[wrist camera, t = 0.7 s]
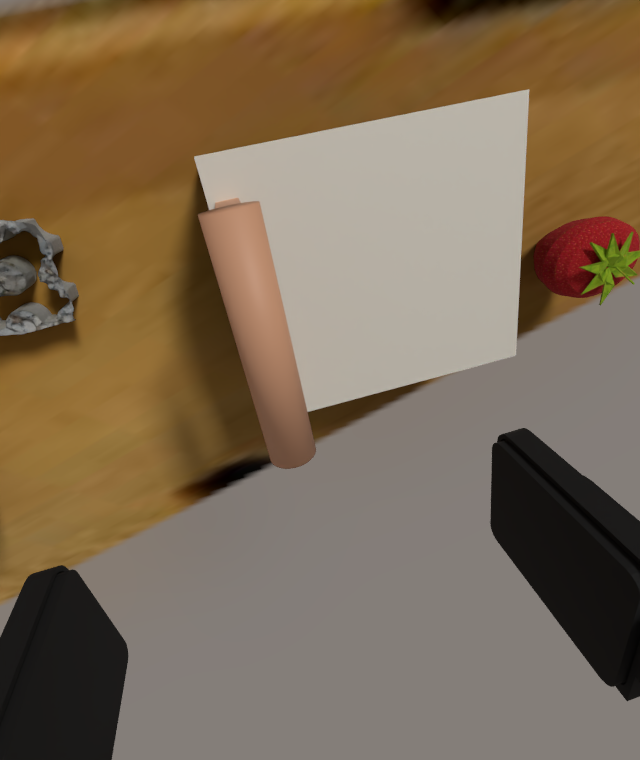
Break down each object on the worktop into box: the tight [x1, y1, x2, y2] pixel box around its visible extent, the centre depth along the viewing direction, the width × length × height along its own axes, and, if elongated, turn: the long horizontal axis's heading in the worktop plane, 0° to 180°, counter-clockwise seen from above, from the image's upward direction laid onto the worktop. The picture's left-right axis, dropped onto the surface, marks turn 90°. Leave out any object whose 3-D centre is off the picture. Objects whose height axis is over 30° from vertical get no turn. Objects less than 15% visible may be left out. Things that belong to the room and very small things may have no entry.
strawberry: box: [534, 217, 640, 305], centre depth 34 cm, size 6×8×10 cm
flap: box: [194, 90, 529, 469], centre depth 23 cm, size 18×16×8 cm
